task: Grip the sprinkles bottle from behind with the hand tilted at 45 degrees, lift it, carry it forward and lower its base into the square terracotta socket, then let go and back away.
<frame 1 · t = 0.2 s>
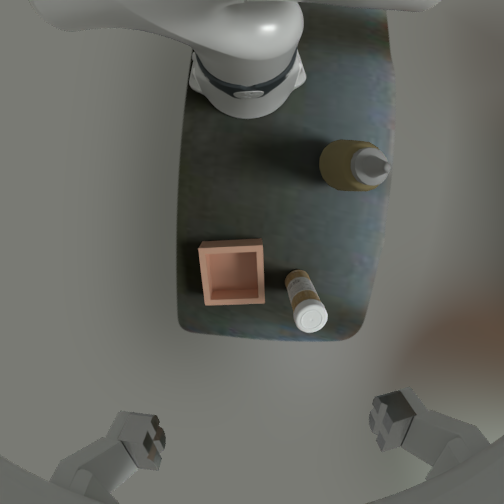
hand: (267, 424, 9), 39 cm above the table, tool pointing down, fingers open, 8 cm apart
terracotta socket: (233, 267, 48), on the table
squeeze bottle: (336, 164, 43), on the table
sprinkles bottle: (297, 280, 49), on the table
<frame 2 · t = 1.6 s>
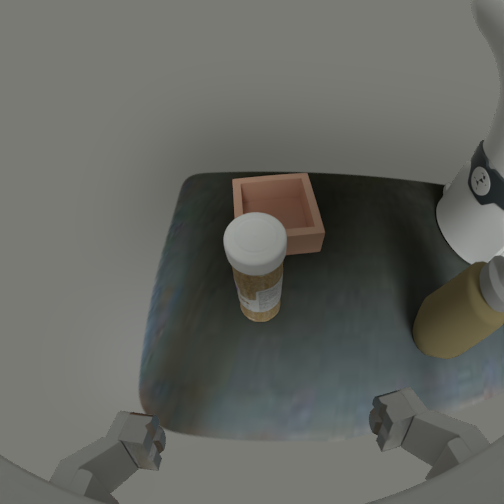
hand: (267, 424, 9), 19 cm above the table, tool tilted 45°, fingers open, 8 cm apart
terracotta socket: (275, 223, 37), on the table
squeeze bottle: (430, 333, 27), on the table
sprinkles bottle: (260, 304, 31), on the table
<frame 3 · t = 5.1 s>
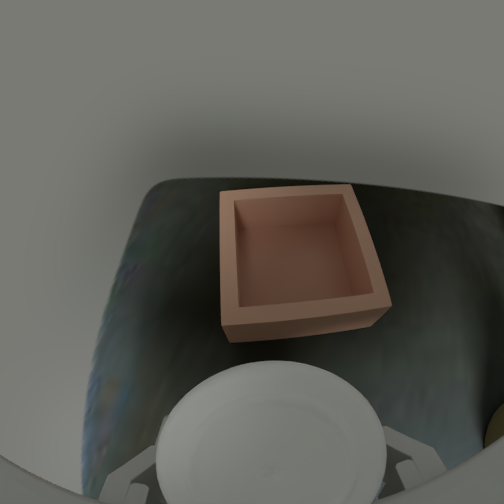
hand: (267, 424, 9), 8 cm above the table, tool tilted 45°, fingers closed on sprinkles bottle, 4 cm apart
terracotta socket: (293, 272, 21), on the table
squeeze bottle: (501, 432, 11), on the table
sprinkles bottle: (266, 426, 15), on the table, touching gripper
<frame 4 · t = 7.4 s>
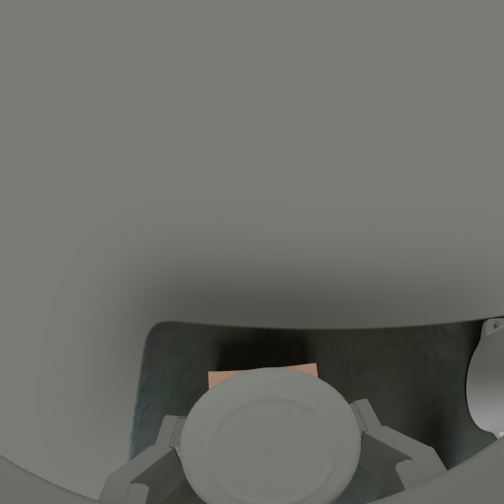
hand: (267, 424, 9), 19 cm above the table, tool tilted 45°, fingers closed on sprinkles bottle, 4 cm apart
terracotta socket: (266, 418, 25), on the table
sprinkles bottle: (263, 427, 16), point 10 cm above the table, touching gripper
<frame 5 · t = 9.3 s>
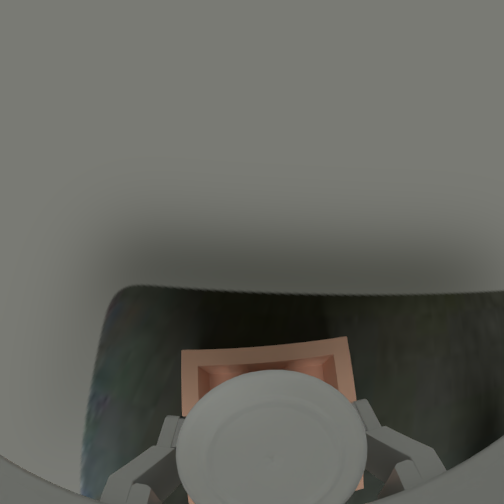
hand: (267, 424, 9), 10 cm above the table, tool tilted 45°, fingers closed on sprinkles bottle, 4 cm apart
terracotta socket: (270, 424, 16), on the table
sprinkles bottle: (265, 428, 16), resting on terracotta socket, touching gripper
when the fingers open (9 cm above the table, at t = 9.5 s): sprinkles bottle stays where it is, resting on terracotta socket.
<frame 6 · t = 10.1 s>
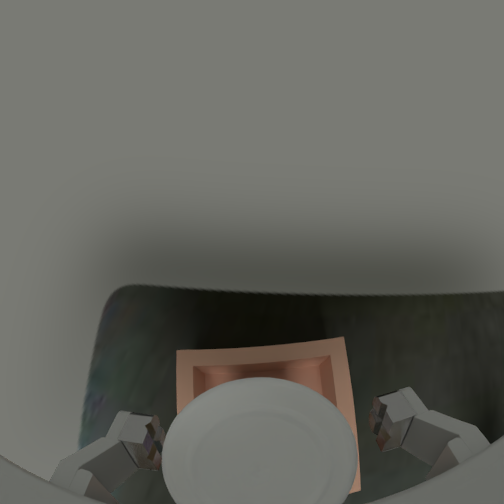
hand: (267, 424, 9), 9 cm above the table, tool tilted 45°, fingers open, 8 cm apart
terracotta socket: (266, 425, 16), on the table
sprinkles bottle: (261, 428, 16), resting on terracotta socket
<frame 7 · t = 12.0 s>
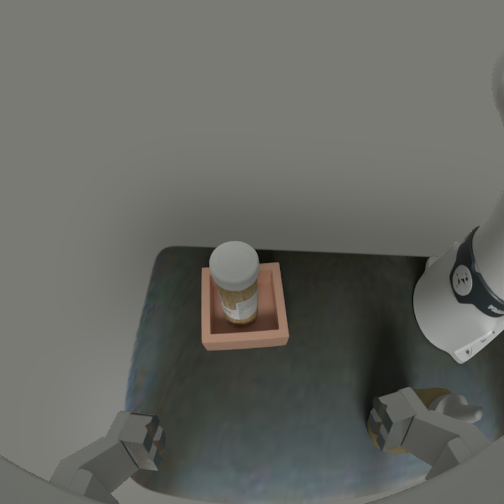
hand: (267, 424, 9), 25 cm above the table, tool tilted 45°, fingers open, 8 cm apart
terracotta socket: (244, 312, 37), on the table
squeeze bottle: (385, 422, 28), on the table
sprinkles bottle: (241, 313, 37), resting on terracotta socket
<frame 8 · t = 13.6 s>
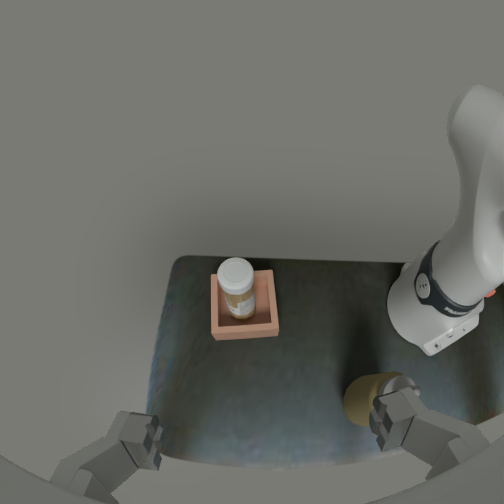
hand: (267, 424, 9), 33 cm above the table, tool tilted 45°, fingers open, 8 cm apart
terracotta socket: (244, 309, 46), on the table
squeeze bottle: (360, 401, 37), on the table
sprinkles bottle: (242, 310, 46), resting on terracotta socket
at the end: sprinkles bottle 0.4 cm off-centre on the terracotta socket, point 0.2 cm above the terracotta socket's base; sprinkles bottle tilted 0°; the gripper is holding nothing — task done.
